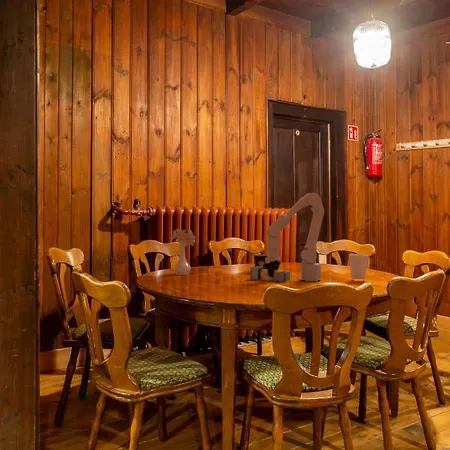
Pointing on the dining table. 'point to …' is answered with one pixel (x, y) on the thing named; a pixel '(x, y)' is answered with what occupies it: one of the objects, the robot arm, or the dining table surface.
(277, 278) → the open end cap
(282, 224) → the robot arm
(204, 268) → the dining table surface
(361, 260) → the foam cup
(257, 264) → the coffee mug
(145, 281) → the dining table surface
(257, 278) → the grey rectangular block
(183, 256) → the flower vase
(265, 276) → the light brown long block
